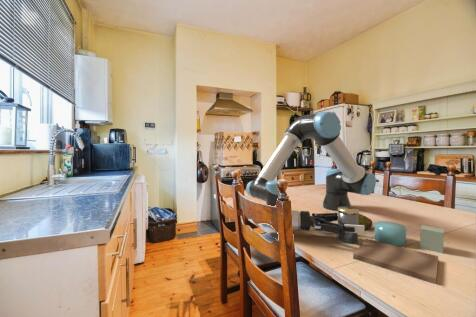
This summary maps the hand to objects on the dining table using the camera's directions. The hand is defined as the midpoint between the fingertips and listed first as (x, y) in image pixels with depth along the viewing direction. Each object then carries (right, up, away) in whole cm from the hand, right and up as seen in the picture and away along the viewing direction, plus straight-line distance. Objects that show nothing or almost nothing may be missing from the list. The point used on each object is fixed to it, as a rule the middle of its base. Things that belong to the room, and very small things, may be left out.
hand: (359, 224), depth 85 cm
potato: (+6, -6, +14) cm, 17 cm away
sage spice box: (+22, -7, -7) cm, 24 cm away
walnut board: (+4, -7, -14) cm, 16 cm away
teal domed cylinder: (+12, -7, 0) cm, 13 cm away
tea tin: (-4, -7, +1) cm, 8 cm away
